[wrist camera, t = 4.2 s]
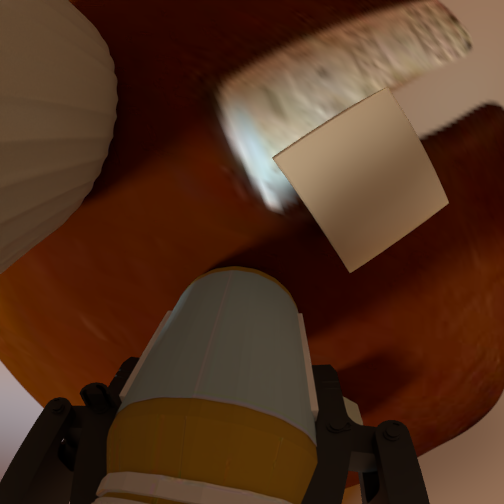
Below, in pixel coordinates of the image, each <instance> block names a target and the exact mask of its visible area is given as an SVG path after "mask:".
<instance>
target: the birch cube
mask: <svg viewBox="0 0 504 504" xmlns="http://www.w3.org/2000/svg"><path fill="white" fill-rule="evenodd" d="M272 158H273V160H274V161H275V163H276V164H277V165H278V167H279V168H280V169H281V171H282V172H283V174H284V175H285V176H286V178H287V179H288V181H289V182H290V184H291V185H292V186H293V188H294V189H295V191H296V192H297V194H298V195H299V196H300V198H301V199H302V201H303V202H304V204H305V205H306V207H307V208H308V210H309V211H310V213H311V214H312V216H313V217H314V219H315V220H316V222H317V223H318V225H319V226H320V228H321V229H322V231H323V232H324V234H325V235H326V237H327V238H328V240H329V241H330V243H331V245H332V246H333V248H334V249H335V251H336V252H337V254H338V255H339V257H340V258H341V260H342V261H343V263H344V265H345V266H346V268H347V269H348V271H349V272H350V273H351V272H353V271H354V270H356V269H357V268H359V267H360V266H362V265H363V264H365V263H366V262H368V261H369V260H371V259H372V258H374V257H375V256H377V255H378V254H380V253H381V252H383V251H384V250H385V249H387V248H388V247H390V246H391V245H393V244H394V243H395V242H397V241H398V240H400V239H401V238H403V237H404V236H405V235H407V234H408V233H409V232H411V231H412V230H414V229H415V228H416V227H418V226H419V225H420V224H422V223H423V222H425V221H426V220H427V219H429V218H430V217H431V216H433V215H434V214H435V213H436V212H438V211H439V210H440V209H442V208H443V207H444V206H446V205H447V204H448V203H449V202H448V199H447V197H446V194H445V192H444V190H443V187H442V185H441V183H440V181H439V178H438V176H437V174H436V172H435V170H434V168H433V165H432V163H431V161H430V159H429V157H428V155H427V153H426V151H425V149H424V147H423V146H422V144H421V142H420V140H419V138H418V136H417V134H416V133H415V131H414V129H413V127H412V126H411V124H410V122H409V120H408V119H407V117H406V115H405V114H404V112H403V110H402V109H401V107H400V106H399V104H398V103H397V101H396V99H395V98H394V96H393V95H392V93H391V92H390V90H389V89H388V87H386V88H384V89H382V90H380V91H378V92H377V93H375V94H373V95H371V96H369V97H367V98H365V99H363V100H362V101H360V102H358V103H356V104H354V105H352V106H351V107H349V108H347V109H346V110H344V111H342V112H341V113H339V114H338V115H336V116H334V117H333V118H331V119H330V120H328V121H326V122H325V123H323V124H322V125H320V126H319V127H317V128H316V129H314V130H312V131H311V132H309V133H308V134H306V135H305V136H303V137H302V138H300V139H299V140H297V141H296V142H294V143H293V144H291V145H290V146H288V147H287V148H285V149H284V150H282V151H281V152H279V153H278V154H276V155H275V156H274V157H272Z"/></svg>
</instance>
